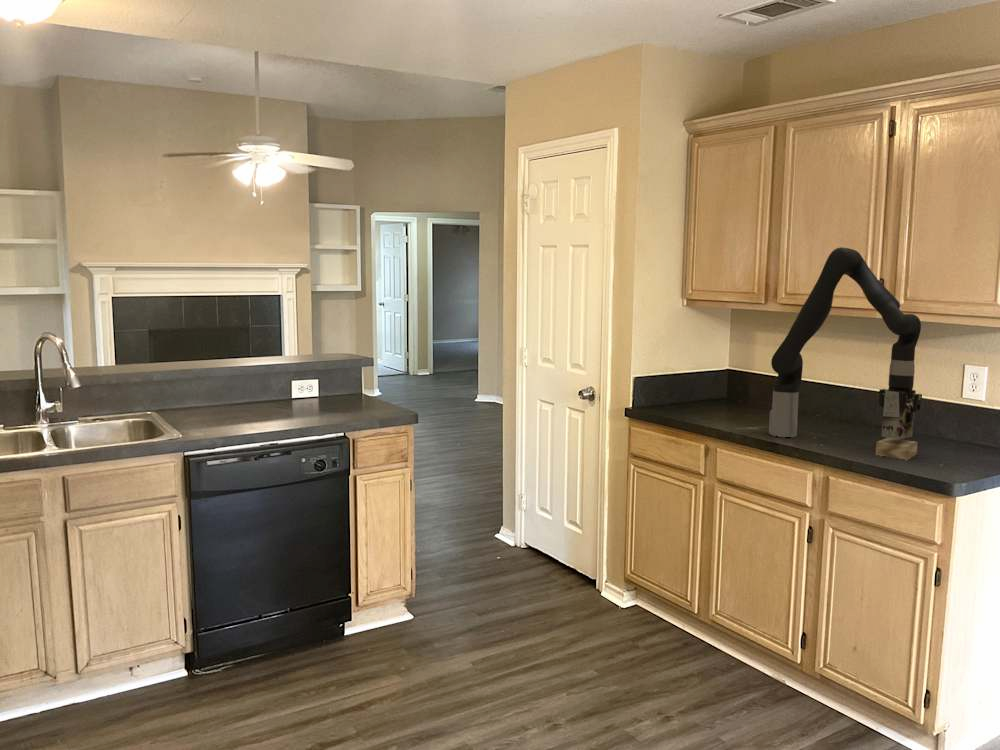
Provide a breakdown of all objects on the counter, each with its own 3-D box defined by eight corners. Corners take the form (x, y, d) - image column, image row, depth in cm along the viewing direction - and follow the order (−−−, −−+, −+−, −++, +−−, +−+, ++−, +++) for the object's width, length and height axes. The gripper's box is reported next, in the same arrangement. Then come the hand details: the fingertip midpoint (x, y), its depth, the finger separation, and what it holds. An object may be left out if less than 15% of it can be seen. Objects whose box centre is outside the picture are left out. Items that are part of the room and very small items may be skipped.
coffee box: (899, 440, 262) (903, 392, 260) (880, 436, 267) (884, 390, 265) (913, 436, 268) (916, 390, 265) (894, 433, 273) (897, 387, 271)
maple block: (875, 456, 268) (876, 442, 268) (885, 451, 275) (886, 437, 275) (906, 461, 261) (907, 446, 261) (916, 456, 268) (917, 442, 268)
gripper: (875, 371, 269) (871, 419, 271) (916, 376, 257) (912, 426, 259) (887, 370, 273) (884, 417, 275) (928, 374, 261) (925, 424, 263)
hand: (898, 421), depth 267 cm, fingers closed on coffee box, 6 cm apart
